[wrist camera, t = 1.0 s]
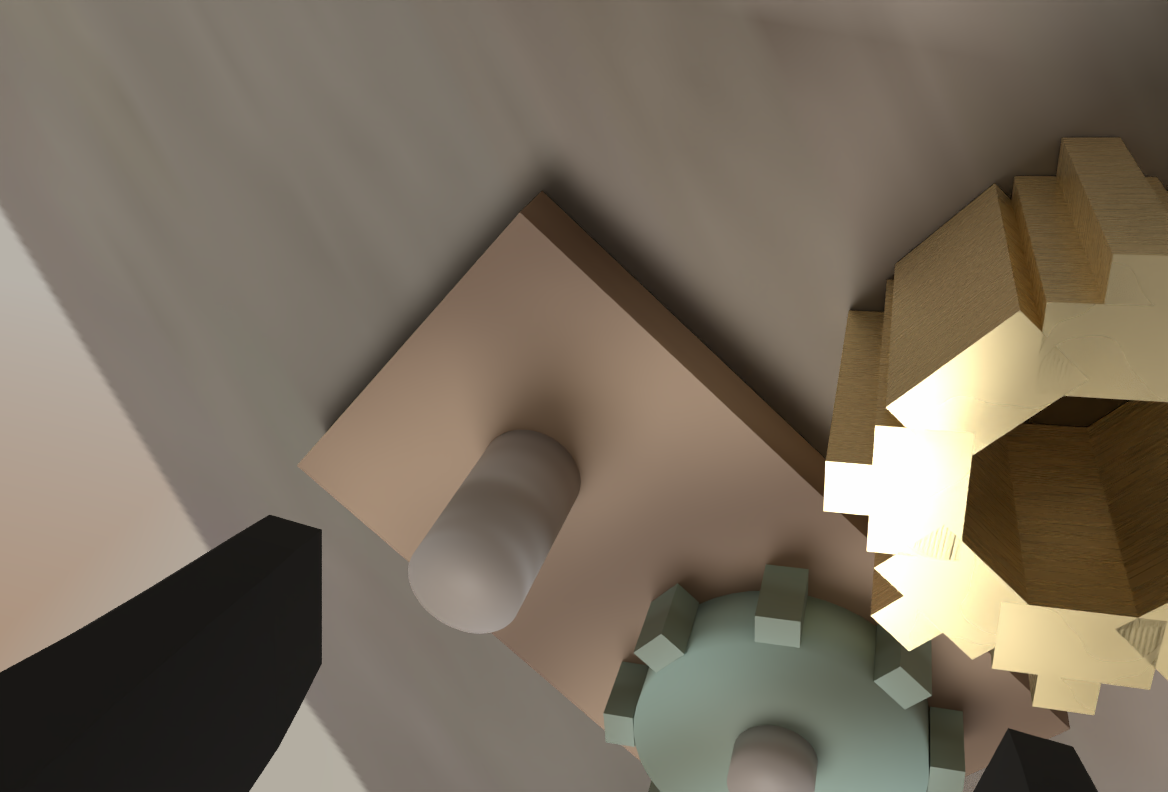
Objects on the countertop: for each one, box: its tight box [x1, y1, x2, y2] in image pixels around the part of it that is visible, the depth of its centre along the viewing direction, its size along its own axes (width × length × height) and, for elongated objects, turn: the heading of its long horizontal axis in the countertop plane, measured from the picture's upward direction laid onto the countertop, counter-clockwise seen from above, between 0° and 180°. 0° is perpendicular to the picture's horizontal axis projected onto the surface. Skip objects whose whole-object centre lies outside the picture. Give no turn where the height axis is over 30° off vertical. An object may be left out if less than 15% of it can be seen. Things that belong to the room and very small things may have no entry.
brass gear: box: [824, 137, 1168, 715], centre depth 15 cm, size 6×7×5 cm
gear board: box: [297, 191, 1070, 792], centre depth 19 cm, size 14×8×5 cm, turn 49°
